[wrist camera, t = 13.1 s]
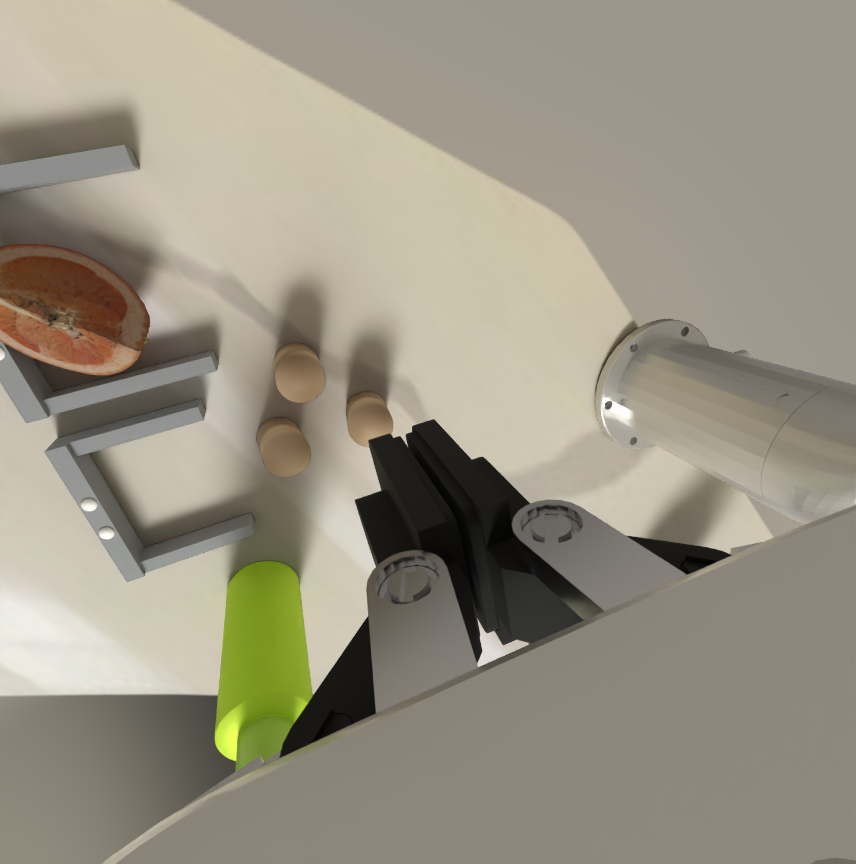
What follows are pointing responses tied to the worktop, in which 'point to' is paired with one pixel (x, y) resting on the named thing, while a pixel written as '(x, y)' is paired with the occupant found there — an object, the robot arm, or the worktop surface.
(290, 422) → the cork
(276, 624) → the soap dispenser
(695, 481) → the worktop surface
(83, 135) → the worktop surface
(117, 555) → the corral
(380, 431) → the cork
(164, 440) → the worktop surface
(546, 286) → the worktop surface
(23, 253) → the fruit slice
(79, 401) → the corral
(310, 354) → the cork
